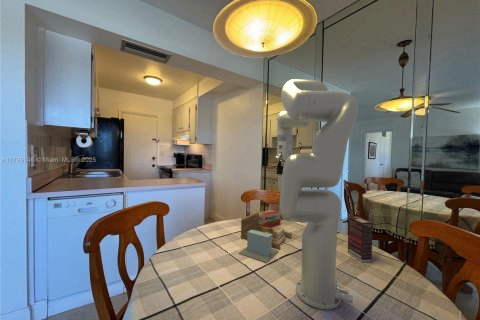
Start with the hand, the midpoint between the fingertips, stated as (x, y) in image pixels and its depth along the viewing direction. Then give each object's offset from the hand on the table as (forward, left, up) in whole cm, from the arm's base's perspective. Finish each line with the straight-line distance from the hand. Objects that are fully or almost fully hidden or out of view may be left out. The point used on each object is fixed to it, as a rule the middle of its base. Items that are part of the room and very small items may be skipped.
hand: (283, 173), depth 99 cm
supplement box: (-33, -3, -34) cm, 47 cm away
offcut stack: (+1, +3, -34) cm, 34 cm away
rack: (+8, +3, -33) cm, 34 cm away
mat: (+3, +19, -33) cm, 38 cm away
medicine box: (+16, -15, -34) cm, 40 cm away
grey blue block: (+3, +19, -33) cm, 38 cm away
